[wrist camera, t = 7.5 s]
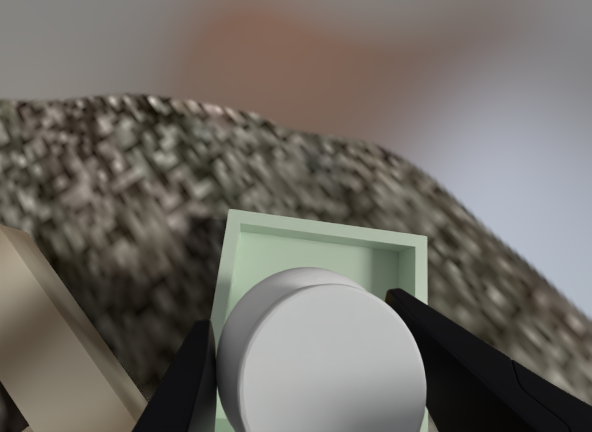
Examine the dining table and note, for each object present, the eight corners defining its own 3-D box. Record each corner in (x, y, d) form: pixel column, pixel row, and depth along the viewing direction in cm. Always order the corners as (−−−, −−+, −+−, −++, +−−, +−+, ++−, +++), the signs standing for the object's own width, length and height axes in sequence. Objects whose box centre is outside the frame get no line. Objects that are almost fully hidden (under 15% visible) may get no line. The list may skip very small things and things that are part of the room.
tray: (402, 441, 20) (428, 465, 17) (197, 428, 19) (187, 452, 16) (405, 243, 24) (426, 236, 21) (231, 220, 22) (229, 208, 19)
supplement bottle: (357, 354, 16) (510, 430, 7) (263, 421, 15) (287, 637, 5) (303, 261, 17) (369, 210, 7) (209, 316, 15) (145, 340, 6)
